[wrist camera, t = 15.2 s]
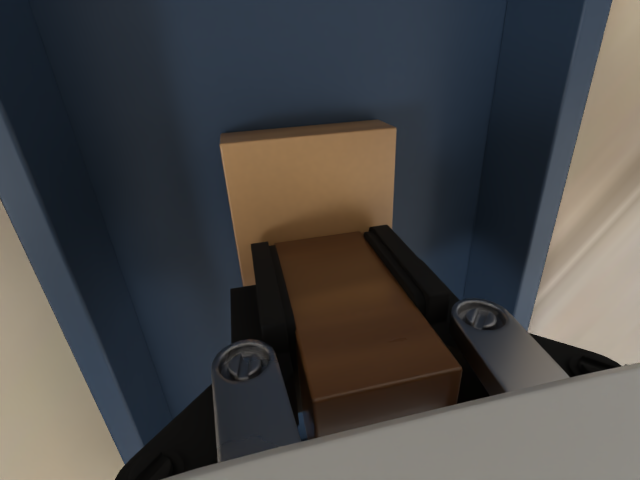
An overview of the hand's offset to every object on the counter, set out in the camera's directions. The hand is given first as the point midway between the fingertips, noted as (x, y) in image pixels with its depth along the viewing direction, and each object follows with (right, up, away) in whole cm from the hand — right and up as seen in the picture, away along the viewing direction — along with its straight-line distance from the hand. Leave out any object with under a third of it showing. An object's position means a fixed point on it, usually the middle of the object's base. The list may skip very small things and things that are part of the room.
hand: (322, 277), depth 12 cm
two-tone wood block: (0, +1, +2) cm, 2 cm away
